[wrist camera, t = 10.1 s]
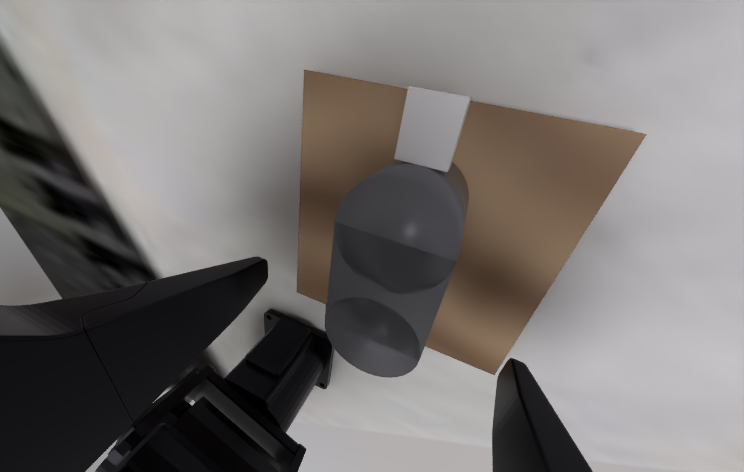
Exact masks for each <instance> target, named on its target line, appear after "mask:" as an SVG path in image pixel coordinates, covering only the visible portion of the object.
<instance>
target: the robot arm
mask: <svg viewBox="0 0 744 472" xmlns="http://www.w3.org/2000/svg"><path fill="white" fill-rule="evenodd" d="M267 279H268V263H267V260H265V259H263V258H261V257H252V258H247V259H243V260H239V261H235V262H230V263H226V264H222V265H218V266H213V267H209V268H205V269H200V270H196V271H192V272H188V273H183V274H179V275H175V276H170V277H166V278H162V279H158V280H153V281H150V282H149V283H148V282H145V283H140V284H136V285H132V286H127V287H123V288H118V289H114V290H108V291H103V292H98V293H93V294H88V295H82V296H77V297H71V298H66V299H60V300H55V301H50V302H45V303H38V304H32V305H21V306H3V305H0V472H85V471H86V470H87V469H88V468H89V467H90V466H91V465H92V464H93V463H94V462H95V461H96V460H97V459H98V458H99V457H100V456H101V455H102V454H103V453H104V452H105V451H106V450H107V449H108V448H109V447H110V446H111V445H112V444H113V443H114V442H115V441H116V440H117V442H116V445H115V446H114V447H113V448H112V449H111V451H110V452H109V453H108V457H107V458H106V459H105V460H104V461H103V462H102V463H101V464H100V466H99V467H98V468H97V469H96V471H95V472H298V469H299V466H300V464H301V462H302V459H303V457H304V454H305V452H306V448H305V447H304V446H302V445H301V444H298V443H297V442H295V441H294V440H293V439H292V438H290V437H289V436H288V435H287V434H286V431H287V430H288V428H289V427H290V425H291V423H292V422H293V420H294V418H295V417H296V415H297V414H298V412H299V410H300V409H301V407H302V405H303V404H304V402H305V400H306V399H307V397H308V396H309V394H310V392H311V391H312V389H313V387H314V386H315V385H316V386H318V387H320V388H322V389H326V388H327V386H328V385H329V380H330V373H331V366H332V359H333V352H334V347H333V346H332V344H331V342H330V340H329V339H328V336H327V334H324V333H322V332H320V331H318V330H315V329H313V328H311V327H309V326H307V325H304V324H302V323H300V322H298V321H295V320H293V319H291V318H289V317H287V316H284V315H282V314H280V313H278V312H276V311H273V310H271V309H269V310H268V311H267V312H266V313H264V324H265V336H264V337H263V338H262V339H261V340H260V341H259V342H258V343H257V344H256V345H255V346H254V347H253V348H252V349H251V350H250V351H249V352H248V353H247V355H246V356H245V358H244V359H243V360H242V361H241V362H240V363H239V364H238V365H237V366H236V367H235V368H234V369H233V370H232V371H231V372H230V373H229V374H228V375H227V376H226V377H225V378H224V379H223V378H222V377H221V376H220V375H219V374H217V373H216V372H215V369H214V368H213V367H212V366H211V365H210V364H209V365H208V366H207V367H205V368H204V369H199V368H195V369H193V370H192V371H191V372H190V373H189V374H188V375H187V376H186V377H185V378H183V379H182V380H181V381H180V382H179V383H178V384H177V385H176V386H174V387H173V388H172V389H171V390H169V391H168V392H167V393H166V394H164V395H163V396H162V397H160V398H159V399H158V400H156V399H157V398H158V397H159V396H160V395H161V394H162V393H163V392H164V391H165V390H166V389H167V388H168V387H169V386H170V385H171V384H172V383H173V382H174V381H175V379H176V378H177V377H178V376H179V375H180V374H181V373H182V372H183V371H184V370H185V369H186V368H187V367H188V366H189V365H190V364H191V363H192V362H193V361H194V360H195V359H196V358H197V357H198V356H199V355H200V354H201V353H202V352H203V351H204V350H205V349H206V348H207V347H208V346H209V345H210V344H211V343H212V342H213V341H214V340H215V339H216V338H217V337H218V336H219V335H220V334H221V333H222V332H223V331H224V330H225V329H226V328H227V327H228V326H229V325H230V324H231V323H232V322H233V321H234V320H235V319H236V318H237V316H238V315H239V314H240V313H241V312H242V311H243V310H244V309H245V307H246V306H247V305H248V304H249V303H250V301H251V300H252V299H253V298H254V296H255V295H256V294H257V293H258V291H259V290H260V289H261V288H262V286H263V285H264V284H265V283H266V281H267ZM155 400H156V401H155ZM192 400H194V401H195V402H196V403H195V404H194V405H193V406H191V405H190V404H189V403H190V402H191V401H192ZM154 401H155V402H154ZM153 402H154V403H153ZM492 450H493V451H492V452H493V472H592V470H591V468H590V467H589V465H588V463H587V462H586V460H585V459H584V457H583V455H582V454H581V452H580V451H579V449H578V447H577V446H576V444H575V443H574V441H573V439H572V438H571V436H570V435H569V433H568V431H567V430H566V428H565V427H564V425H563V423H562V422H561V420H560V419H559V417H558V415H557V414H556V412H555V411H554V409H553V407H552V406H551V404H550V403H549V401H548V399H547V398H546V396H545V395H544V393H543V391H542V390H541V388H540V387H539V385H538V383H537V382H536V380H535V379H534V377H533V375H532V374H531V372H530V371H529V369H528V367H527V366H526V365H525V364H524V363H523V362H520V361H518V360H515V359H513V358H510V359H509V360H508V361H507V362H506V364H505V366H504V367H503V369H502V370H501V372H500V373H499V376H498V379H497V388H496V398H495V408H494V418H493V430H492Z"/></svg>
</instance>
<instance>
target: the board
mask: <svg viewBox="0 0 744 472" xmlns="http://www.w3.org/2000/svg"><path fill="white" fill-rule="evenodd" d="M407 91H408V89H404V88H398V87H393V86H388V85H382V84H377V83H372V82H366V81H361V80H356V79H350V78H345V77H340V76H334V75H329V74H324V73H318V72H313V71H308V70H304V93H303V123H302V153H301V183H300V213H299V243H298V273H297V292H298V293H300V294H302V295H305V296H307V297H310V298H312V299H314V300H317V301H319V302H322V303H324V304H326V303H327V293H328V284H329V274H330V264H331V254H332V244H333V234H334V224H335V217H336V213H337V210H338V207H339V205H340V203H341V201H342V199H343V198H344V197H345V195H346V194H347V193H348V192H349V191H350V190H351V189H352V188H353V187H355V186H356V185H357V184H359V183H361V182H362V181H364V180H365V179H367V178H369V177H370V176H372V175H374V174H375V173H377V172H378V171H380V170H382V169H383V168H385V167H386V166H388V165H390V164H391V163H393V162H394V161H396V160H397V159H394V157H395V152H396V147H397V142H398V137H399V132H400V127H401V122H402V116H403V111H404V106H405V101H406V96H407ZM646 135H647V134H643V133H638V132H632V131H627V130H622V129H616V128H611V127H606V126H600V125H595V124H590V123H584V122H579V121H574V120H568V119H563V118H558V117H553V116H547V115H542V114H537V113H531V112H526V111H521V110H515V109H510V108H505V107H499V106H494V105H489V104H483V103H478V102H473V101H470V104H469V108H468V111H467V114H466V117H465V121H464V124H463V127H462V131H461V134H460V137H459V141H458V144H457V147H456V150H455V154H454V157H453V160H452V162H453V163H454V164H455V165H456V166H457V167H458V168H459V169H460V171H461V172H462V174H463V175H464V177H465V180H466V182H467V185H468V191H469V201H468V207H467V213H466V218H465V224H464V230H463V235H462V241H461V246H460V252H459V256H458V259H457V262H456V265H455V268H454V270H453V273H452V276H451V278H450V281H449V283H448V286H447V289H446V291H445V294H444V297H443V299H442V302H441V304H440V307H439V310H438V312H437V315H436V318H435V320H434V323H433V325H432V328H431V331H430V333H429V336H428V339H427V341H426V344H425V346H426V347H428V348H431V349H433V350H436V351H438V352H440V353H443V354H445V355H448V356H450V357H452V358H455V359H457V360H459V361H462V362H464V363H467V364H469V365H471V366H474V367H476V368H478V369H481V370H483V371H486V372H488V373H490V374H493V375H495V373H496V372H497V370H498V368H499V367H500V365H501V364H502V362H503V361H504V359H505V357H506V356H507V354H508V353H509V351H510V350H511V348H512V346H513V345H514V343H515V342H516V340H517V338H518V337H519V335H520V334H521V332H522V331H523V329H524V327H525V326H526V324H527V323H528V321H529V319H530V318H531V316H532V315H533V313H534V312H535V310H536V308H537V307H538V305H539V304H540V302H541V301H542V299H543V297H544V296H545V294H546V293H547V291H548V289H549V288H550V286H551V285H552V283H553V282H554V280H555V278H556V277H557V275H558V274H559V272H560V270H561V269H562V267H563V266H564V264H565V263H566V261H567V259H568V258H569V256H570V255H571V253H572V252H573V250H574V248H575V247H576V245H577V244H578V242H579V240H580V239H581V237H582V236H583V234H584V233H585V231H586V229H587V228H588V226H589V225H590V223H591V221H592V220H593V218H594V217H595V215H596V214H597V212H598V210H599V209H600V207H601V206H602V204H603V202H604V201H605V199H606V198H607V196H608V195H609V193H610V191H611V190H612V188H613V187H614V185H615V184H616V182H617V180H618V179H619V177H620V176H621V174H622V172H623V171H624V169H625V168H626V166H627V165H628V163H629V161H630V160H631V158H632V157H633V155H634V153H635V152H636V150H637V149H638V147H639V146H640V144H641V142H642V141H643V139H644V138H645V136H646Z"/></svg>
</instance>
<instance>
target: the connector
mask: <svg viewBox="0 0 744 472" xmlns="http://www.w3.org/2000/svg"><path fill="white" fill-rule="evenodd" d="M471 98H472V97H469V96H463V95H458V94H452V93H446V92H441V91H435V90H430V89H424V88H418V87H413V86H408V91H407V96H406V101H405V106H404V111H403V116H402V122H401V127H400V132H399V137H398V142H397V147H396V152H395V157H394V159H397V160H396V161H394V162H393V163H391V164H390V165H388V166H386V167H385V168H383V169H382V170H380V171H378V172H377V173H375V174H374V175H372V176H370V177H369V178H367V179H365V180H364V181H362V182H361V183H359V184H357V185H356V186H355V187H353V188H352V189H351V190H350V191H349V192H348V193H347V194H346V195H345V197H344V198H343V199H342V201H341V203H340V205H339V207H338V210H337V213H336V217H335V224H334V234H333V244H332V254H331V264H330V274H329V284H328V293H327V303H326V313H325V330H326V333H327V336H328V339H329V340H330V342H331V344H332V346H333V347H334V348H335V350H336V351H337V352H338V353H339V354H340V355H341V356H342V357H343V358H344V359H345V360H346V361H347V362H349V363H350V364H351V365H353V366H355V367H356V368H358V369H360V370H362V371H364V372H367V373H369V374H372V375H376V376H380V377H398V376H402V375H405V374H407V373H409V372H411V371H412V370H413V369H414V368H415V367H416V365H417V364H418V362H419V360H420V357H421V354H422V352H423V349H424V346H425V344H426V341H427V339H428V336H429V333H430V331H431V328H432V325H433V323H434V320H435V318H436V315H437V312H438V310H439V307H440V304H441V302H442V299H443V297H444V294H445V291H446V289H447V286H448V283H449V281H450V278H451V276H452V273H453V270H454V268H455V265H456V262H457V259H458V256H459V252H460V246H461V241H462V235H463V230H464V224H465V218H466V213H467V207H468V201H469V191H468V185H467V182H466V180H465V177H464V175H463V174H462V172H461V171H460V169H459V168H458V167H457V166H456V165H455V164H454V163H453V162H452V160H453V157H454V154H455V150H456V147H457V144H458V141H459V137H460V134H461V131H462V127H463V124H464V121H465V117H466V114H467V111H468V108H469V104H470V101H471Z"/></svg>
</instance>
